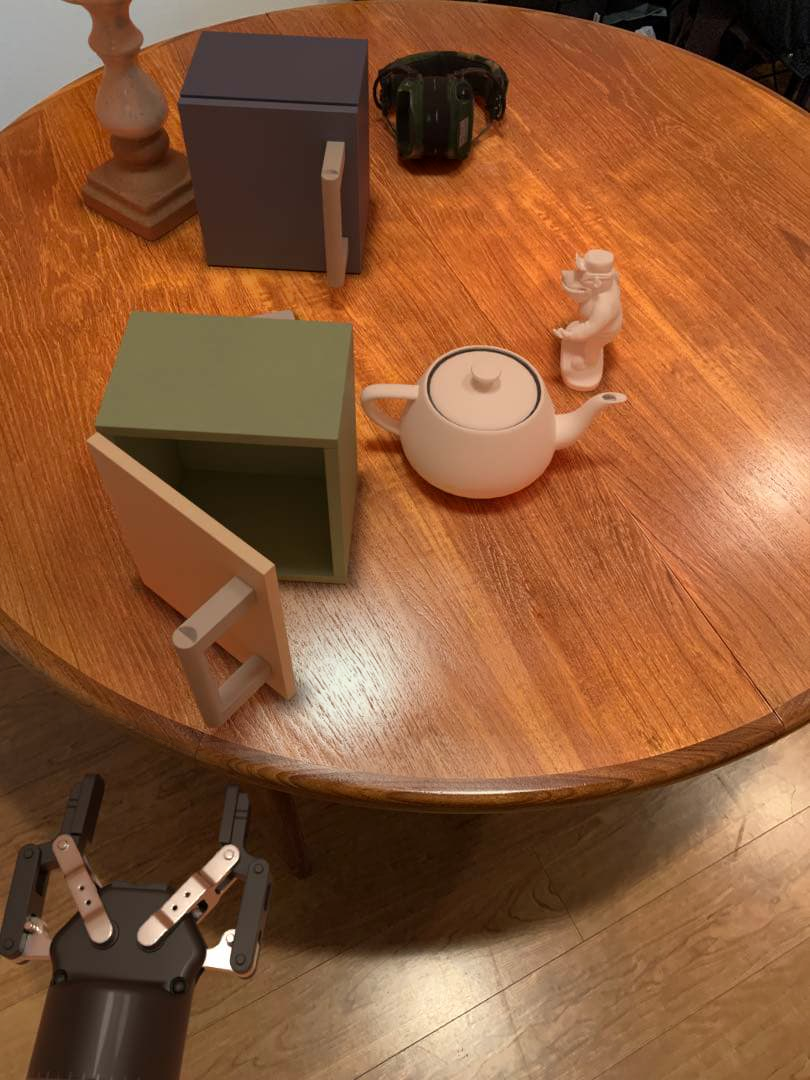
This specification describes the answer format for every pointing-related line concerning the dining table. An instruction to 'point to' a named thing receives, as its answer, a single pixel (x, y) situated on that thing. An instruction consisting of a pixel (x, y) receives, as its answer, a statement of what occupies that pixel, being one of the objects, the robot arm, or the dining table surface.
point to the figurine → (589, 318)
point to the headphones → (439, 100)
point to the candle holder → (133, 133)
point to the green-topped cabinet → (246, 428)
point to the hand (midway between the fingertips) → (165, 781)
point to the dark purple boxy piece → (287, 79)
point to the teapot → (481, 421)
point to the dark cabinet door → (276, 184)
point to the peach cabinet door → (201, 584)
